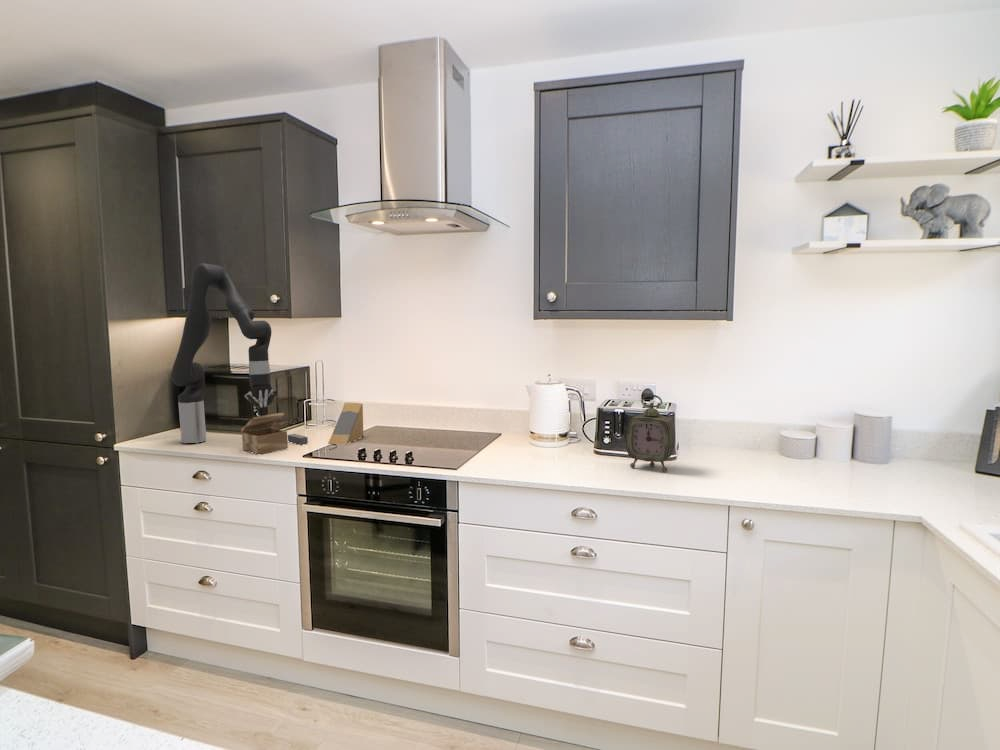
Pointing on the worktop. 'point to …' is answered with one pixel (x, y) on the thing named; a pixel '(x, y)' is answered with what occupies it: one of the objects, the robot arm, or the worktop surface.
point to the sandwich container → (348, 424)
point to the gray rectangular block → (297, 439)
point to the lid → (262, 422)
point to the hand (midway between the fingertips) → (262, 416)
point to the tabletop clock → (650, 436)
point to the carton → (264, 440)
